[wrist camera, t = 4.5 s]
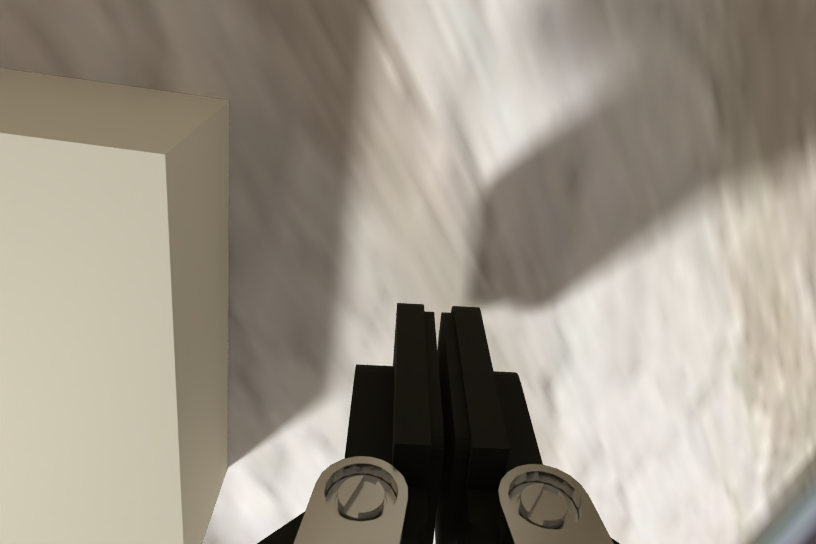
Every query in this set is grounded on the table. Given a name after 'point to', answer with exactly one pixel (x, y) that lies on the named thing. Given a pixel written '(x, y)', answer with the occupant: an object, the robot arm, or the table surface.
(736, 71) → the table surface
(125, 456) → the beige flat square block
